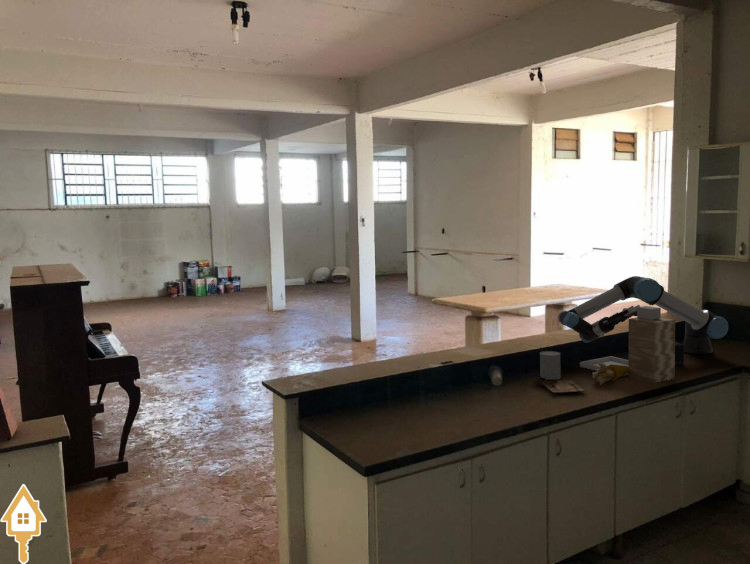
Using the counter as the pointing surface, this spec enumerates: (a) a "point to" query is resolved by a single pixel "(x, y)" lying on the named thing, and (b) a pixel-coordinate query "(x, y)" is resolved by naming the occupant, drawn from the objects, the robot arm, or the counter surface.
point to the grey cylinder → (550, 365)
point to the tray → (606, 360)
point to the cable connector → (646, 312)
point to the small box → (679, 354)
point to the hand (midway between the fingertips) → (636, 307)
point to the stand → (652, 349)
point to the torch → (609, 372)
